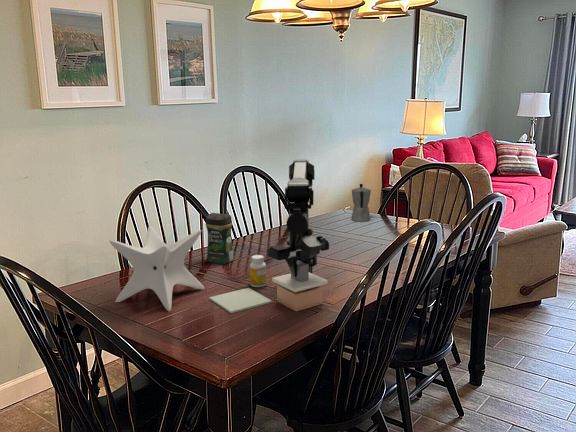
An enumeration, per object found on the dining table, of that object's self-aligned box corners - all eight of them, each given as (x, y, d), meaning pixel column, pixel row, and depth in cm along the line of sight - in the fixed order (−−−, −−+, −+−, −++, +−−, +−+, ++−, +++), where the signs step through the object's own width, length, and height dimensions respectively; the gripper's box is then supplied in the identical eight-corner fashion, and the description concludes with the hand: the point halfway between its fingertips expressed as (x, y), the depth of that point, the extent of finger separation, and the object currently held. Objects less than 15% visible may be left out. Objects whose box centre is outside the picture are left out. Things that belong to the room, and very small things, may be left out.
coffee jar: (204, 262, 207) (201, 214, 202) (215, 256, 214) (213, 210, 209) (225, 265, 202) (223, 216, 198) (236, 259, 209) (234, 212, 205)
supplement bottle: (248, 283, 183) (247, 255, 181) (263, 281, 185) (262, 253, 183) (253, 288, 178) (252, 260, 176) (268, 286, 180) (267, 257, 178)
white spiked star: (154, 282, 186) (149, 225, 182) (204, 289, 179) (201, 230, 174) (114, 303, 168) (108, 240, 164) (169, 311, 161) (164, 246, 156)
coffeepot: (350, 217, 277) (351, 181, 273) (369, 217, 276) (370, 181, 272) (351, 224, 262) (352, 187, 258) (371, 224, 261) (372, 187, 257)
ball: (301, 296, 168) (301, 285, 167) (308, 300, 165) (308, 288, 164) (291, 299, 166) (291, 288, 165) (298, 302, 163) (298, 291, 163)
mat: (248, 289, 177) (248, 287, 177) (271, 302, 166) (271, 300, 166) (209, 299, 170) (209, 297, 170) (231, 313, 159) (230, 311, 158)
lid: (304, 273, 173) (303, 254, 171) (327, 283, 163) (327, 264, 162) (272, 280, 166) (271, 262, 165) (294, 292, 156) (294, 272, 155)
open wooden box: (303, 293, 173) (303, 278, 172) (323, 303, 165) (323, 287, 164) (277, 301, 167) (276, 285, 166) (296, 311, 159) (295, 295, 158)
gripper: (288, 235, 149) (289, 290, 152) (341, 225, 159) (340, 276, 163) (266, 228, 158) (267, 279, 161) (317, 218, 168) (318, 267, 172)
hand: (299, 275), depth 164 cm, fingers closed on lid, 3 cm apart
